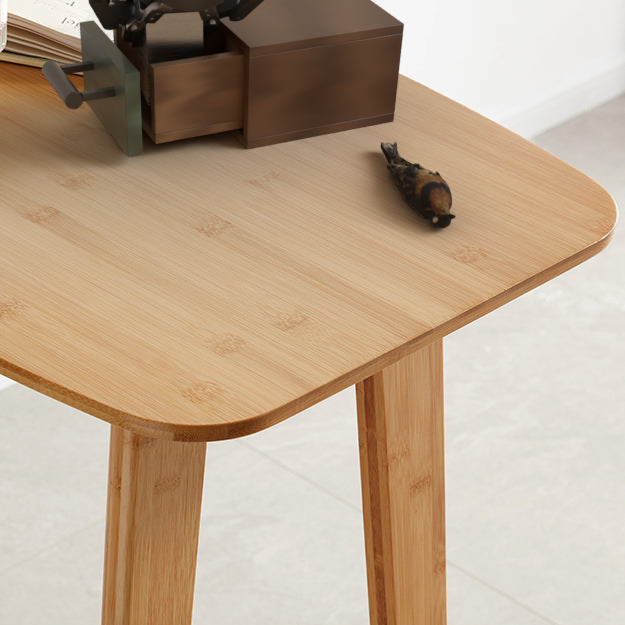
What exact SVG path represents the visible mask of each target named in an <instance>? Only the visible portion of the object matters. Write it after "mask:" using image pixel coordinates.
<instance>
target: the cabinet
mask: <svg viewBox="0 0 625 625" xmlns="http://www.w3.org/2000/svg"><path fill="white" fill-rule="evenodd" d="M216 26H217V27H218V28H219V29H220V30H221V31H222V32H223V33H224V34H225V35H226V36H227V37H228V38H229V39H231V40H232V41H233V42H234V43H235V44H236V45H237V46H238V47H239V48H240V49H241V50H242V51H244V52H245V53H246V54H245V89H244V128H240V129H234V130H229V131H230V132H231V133H232V135H233V136H235V138H236V139H237V140H238V141H239V142H240V143H241V144H242V145H243V146H244V147H245V149H247V150H249V149H254V148H260V147H266V146H270V145H276V144H280V143H286V142H292V141H297V140H301V139H307V138H312V137H317V136H322V135H329V134H332V133H337V132H338V133H339V132H343V131H348V130H354V129H359V128H364V127H369V126H375V125H380V124H384V123H390V122H394V120H395V113H396V104H397V94H398V85H399V77H400V76H399V75H400V66H401V57H402V47H403V37H404V28H405V23H403V22H402V21H400V20H399V19H398V18H396V17H395V16H394V15H393V14H391V13H390V12H388V11H387V10H385V9H384V8H382V7H381V6H380V5H378V4H377V3H375V2H374V1H373V0H264V1H263V2H262V3H261V4H260V5H259V6H257V7H256V8H255V9H254V10H253V11H252V12H251V13H250V14H249V15H248V16H246V17H245V18H244V19H243V20H240V21H230V20H229V17H225V18H222V19H220V24H219V25H216Z"/></svg>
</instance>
